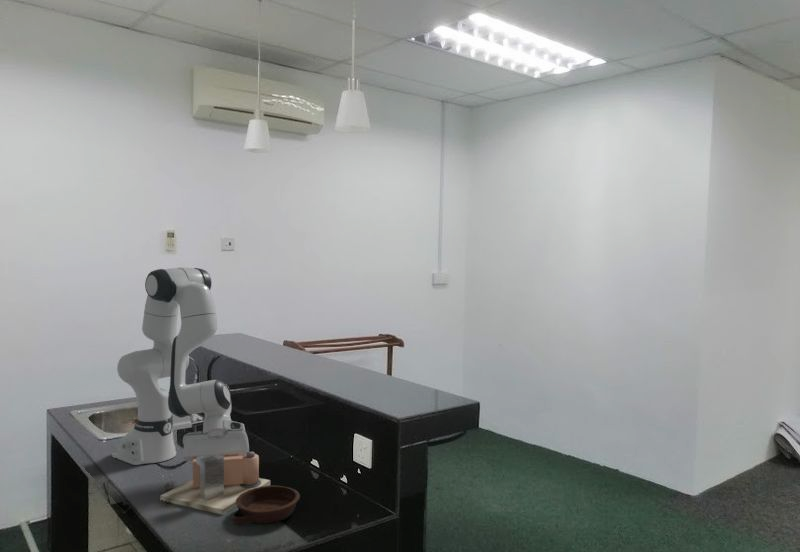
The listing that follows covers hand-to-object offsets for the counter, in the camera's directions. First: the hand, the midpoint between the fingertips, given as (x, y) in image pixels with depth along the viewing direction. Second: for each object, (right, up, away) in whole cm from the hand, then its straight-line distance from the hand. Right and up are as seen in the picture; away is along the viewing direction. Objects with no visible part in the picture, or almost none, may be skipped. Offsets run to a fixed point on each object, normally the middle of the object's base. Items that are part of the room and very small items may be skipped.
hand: (215, 471), depth 182 cm
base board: (+1, -6, -2) cm, 6 cm away
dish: (+20, -7, -16) cm, 26 cm away
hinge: (-38, -3, +60) cm, 72 cm away
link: (+4, -4, -1) cm, 5 cm away
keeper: (+1, -5, -8) cm, 9 cm away
